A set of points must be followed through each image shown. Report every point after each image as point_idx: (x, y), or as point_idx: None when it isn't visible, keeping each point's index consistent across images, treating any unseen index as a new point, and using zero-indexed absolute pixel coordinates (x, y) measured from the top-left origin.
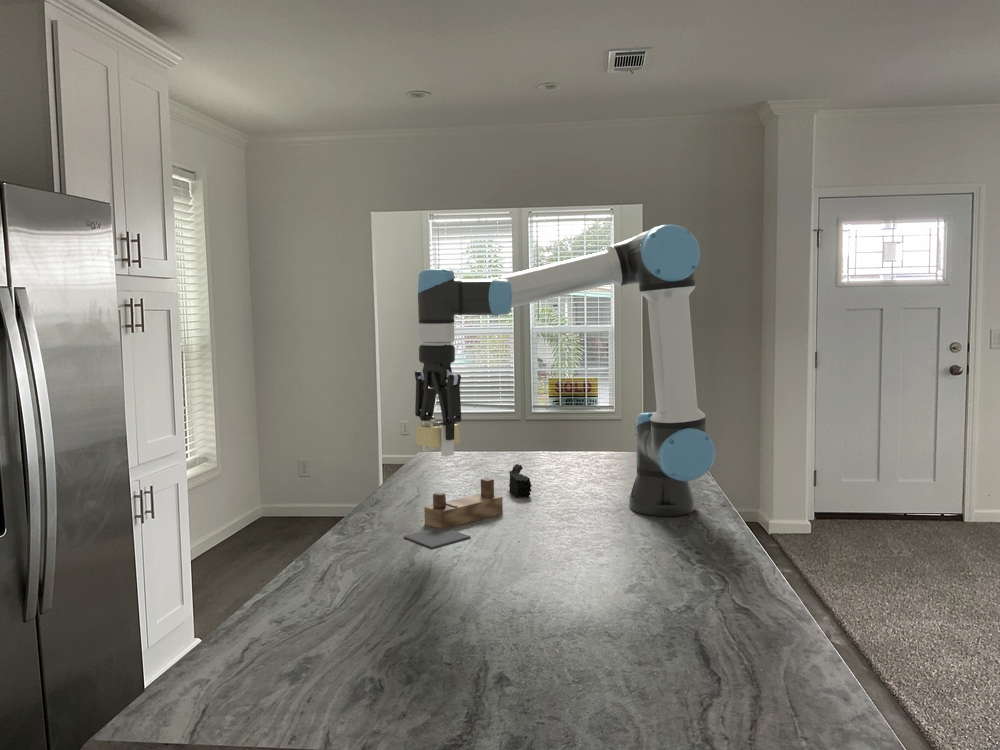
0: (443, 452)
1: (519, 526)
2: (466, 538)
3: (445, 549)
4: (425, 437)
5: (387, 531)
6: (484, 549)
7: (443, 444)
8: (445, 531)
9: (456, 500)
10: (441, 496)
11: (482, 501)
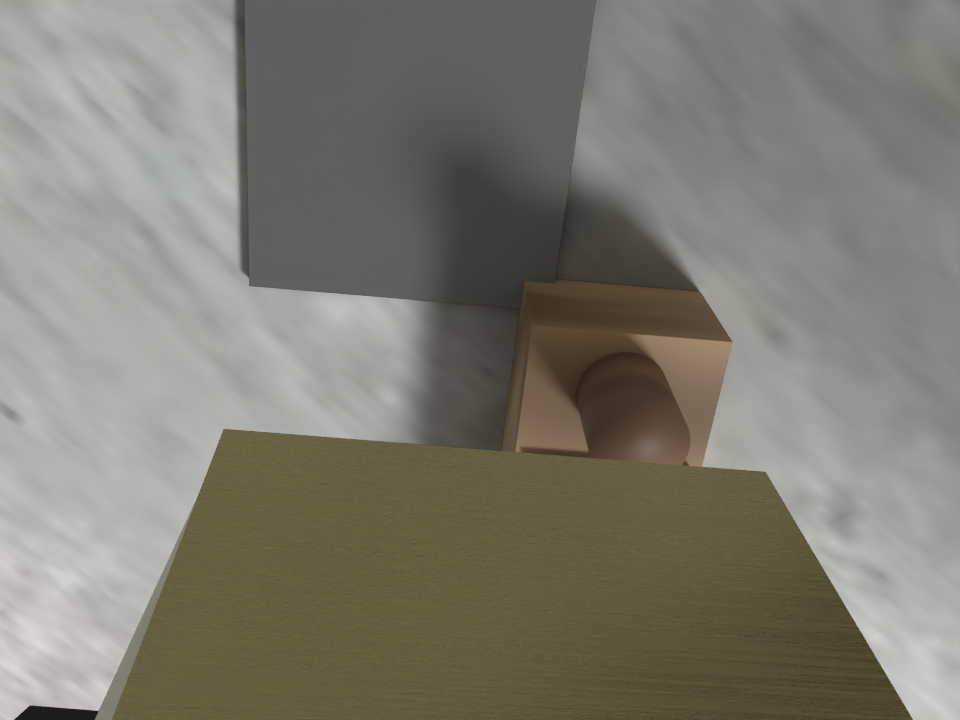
0: (188, 518)
1: None
2: (250, 252)
3: (173, 12)
4: (464, 559)
5: (807, 12)
6: (7, 184)
7: (149, 612)
8: (444, 250)
9: None
10: (593, 426)
11: None
